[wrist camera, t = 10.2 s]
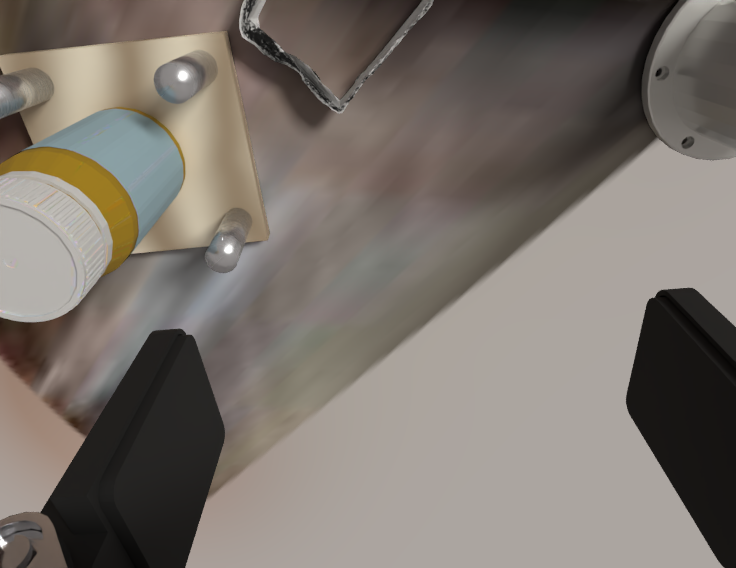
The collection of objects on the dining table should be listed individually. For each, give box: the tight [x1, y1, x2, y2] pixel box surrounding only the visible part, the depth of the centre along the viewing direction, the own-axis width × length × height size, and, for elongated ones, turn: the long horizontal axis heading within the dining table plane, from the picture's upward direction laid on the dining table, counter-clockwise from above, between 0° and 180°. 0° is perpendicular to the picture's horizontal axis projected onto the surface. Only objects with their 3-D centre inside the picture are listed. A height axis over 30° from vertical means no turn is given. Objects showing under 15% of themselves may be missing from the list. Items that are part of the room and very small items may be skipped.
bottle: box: [0, 107, 185, 322], centre depth 28 cm, size 7×7×15 cm
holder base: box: [0, 31, 270, 254], centre depth 35 cm, size 14×14×1 cm
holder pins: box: [0, 50, 252, 273], centre depth 32 cm, size 12×12×6 cm
